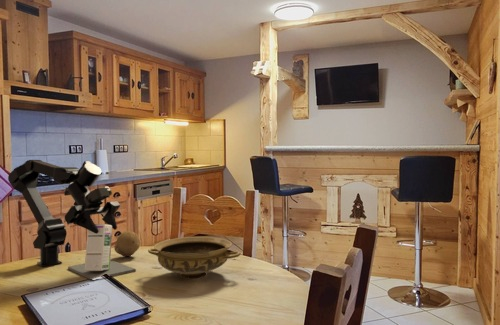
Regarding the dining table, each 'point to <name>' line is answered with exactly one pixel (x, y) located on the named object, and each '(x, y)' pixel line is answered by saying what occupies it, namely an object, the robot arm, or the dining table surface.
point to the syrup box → (98, 248)
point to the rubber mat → (113, 271)
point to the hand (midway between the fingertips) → (107, 230)
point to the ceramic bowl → (193, 255)
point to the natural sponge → (127, 243)
